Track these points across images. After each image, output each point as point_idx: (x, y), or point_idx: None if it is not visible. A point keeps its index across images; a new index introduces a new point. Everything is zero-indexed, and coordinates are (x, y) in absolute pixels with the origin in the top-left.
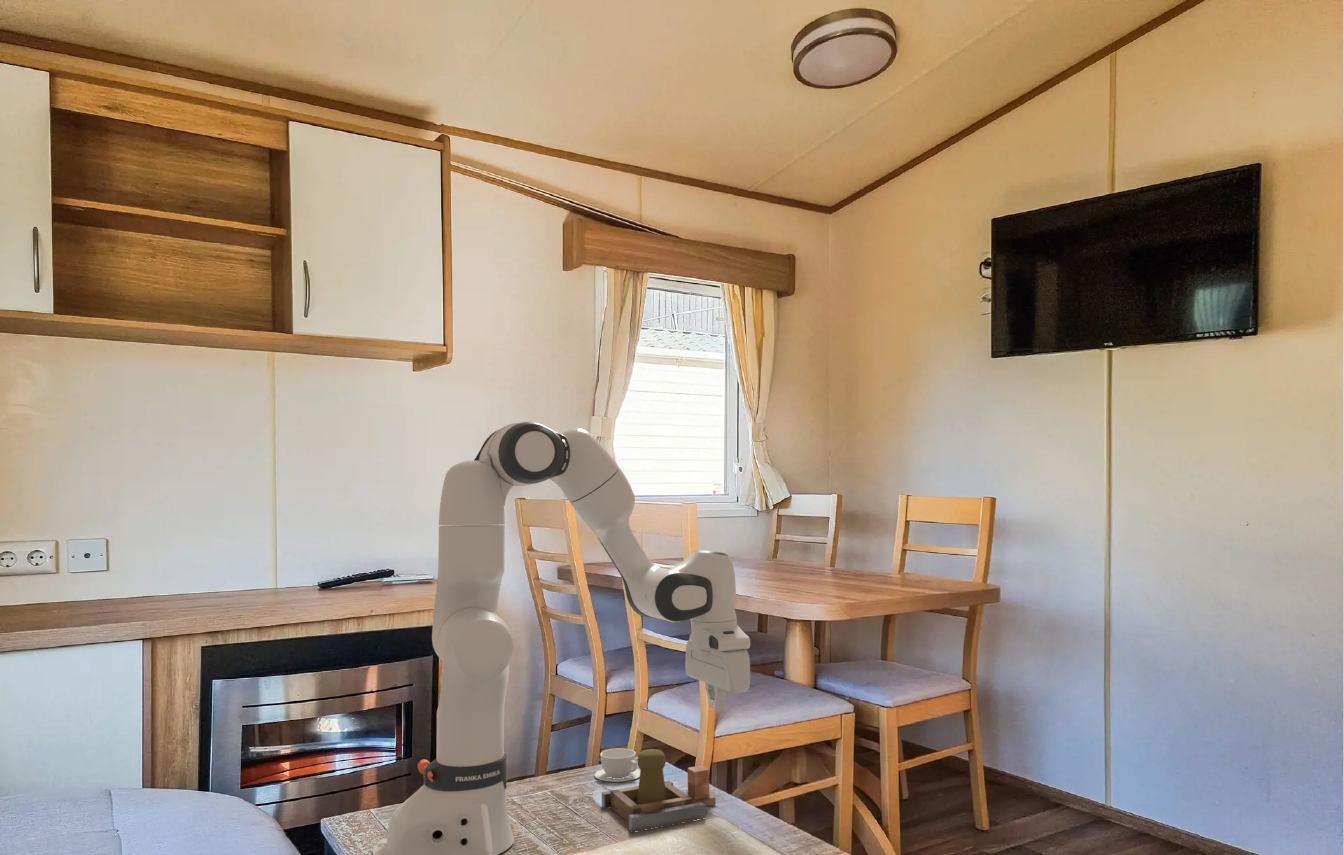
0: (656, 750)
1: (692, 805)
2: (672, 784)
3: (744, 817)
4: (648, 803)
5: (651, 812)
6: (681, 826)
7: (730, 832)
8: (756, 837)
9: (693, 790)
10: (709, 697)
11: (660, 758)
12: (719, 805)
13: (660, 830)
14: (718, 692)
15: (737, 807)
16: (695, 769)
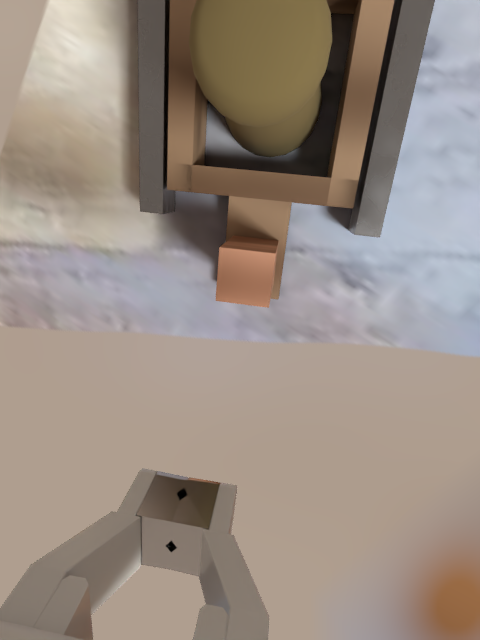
0: (242, 59)
1: (149, 176)
2: (353, 231)
3: (125, 295)
4: None
5: (152, 18)
6: None
7: (57, 214)
8: (13, 246)
9: (238, 239)
10: (213, 536)
11: (192, 61)
12: None
13: None
14: (29, 575)
15: (187, 320)
16: (242, 266)
